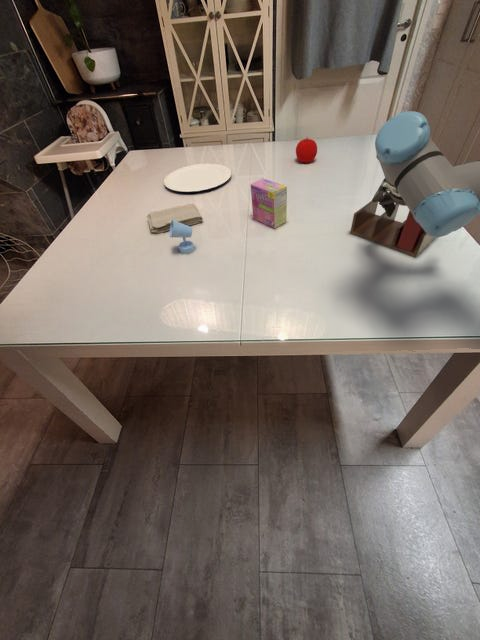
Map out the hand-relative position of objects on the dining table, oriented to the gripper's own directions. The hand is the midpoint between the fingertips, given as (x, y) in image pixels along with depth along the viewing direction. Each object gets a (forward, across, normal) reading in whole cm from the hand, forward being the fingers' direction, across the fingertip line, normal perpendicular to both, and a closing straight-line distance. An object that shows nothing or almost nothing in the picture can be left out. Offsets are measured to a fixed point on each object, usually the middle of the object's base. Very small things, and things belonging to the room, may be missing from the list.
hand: (417, 219), depth 75 cm
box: (-1, -41, -14) cm, 43 cm away
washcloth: (-15, -67, -28) cm, 74 cm away
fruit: (+33, -63, +20) cm, 74 cm away
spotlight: (-21, -50, -34) cm, 64 cm away
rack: (+10, -6, -3) cm, 12 cm away
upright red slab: (+9, 0, -3) cm, 9 cm away
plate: (+4, -89, -9) cm, 89 cm away
